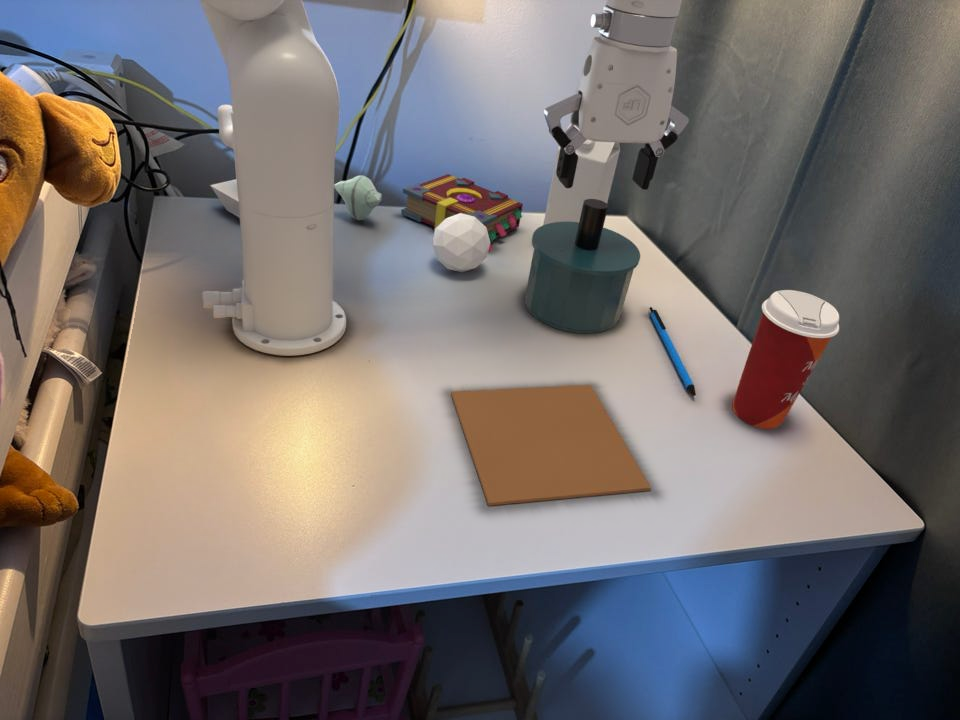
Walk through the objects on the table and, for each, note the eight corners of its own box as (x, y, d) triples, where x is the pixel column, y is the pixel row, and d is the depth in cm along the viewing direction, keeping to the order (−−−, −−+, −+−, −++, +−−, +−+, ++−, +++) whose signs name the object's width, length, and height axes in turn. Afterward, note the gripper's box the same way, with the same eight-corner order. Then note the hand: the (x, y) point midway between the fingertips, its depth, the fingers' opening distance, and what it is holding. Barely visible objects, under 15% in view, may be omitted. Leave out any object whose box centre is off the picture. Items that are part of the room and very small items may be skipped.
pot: (541, 334, 88) (554, 273, 83) (513, 283, 98) (523, 226, 93) (634, 332, 91) (651, 273, 87) (598, 283, 101) (612, 227, 96)
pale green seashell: (329, 216, 108) (329, 173, 104) (345, 208, 111) (345, 165, 107) (374, 231, 105) (376, 188, 102) (389, 222, 109) (392, 180, 105)
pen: (653, 311, 96) (655, 304, 96) (697, 400, 81) (701, 392, 80) (646, 310, 96) (648, 303, 95) (690, 399, 81) (693, 391, 80)
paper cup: (797, 442, 77) (852, 333, 69) (725, 426, 78) (771, 316, 70) (786, 399, 83) (835, 295, 75) (719, 385, 84) (761, 280, 76)
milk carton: (555, 230, 114) (580, 110, 103) (597, 244, 112) (627, 122, 101) (538, 246, 109) (563, 120, 98) (582, 260, 106) (612, 133, 96)
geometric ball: (467, 290, 100) (487, 266, 93) (416, 263, 99) (433, 237, 92) (486, 248, 103) (506, 222, 96) (437, 221, 102) (454, 192, 95)
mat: (488, 506, 64) (488, 502, 63) (450, 394, 76) (451, 391, 76) (650, 490, 68) (651, 487, 68) (589, 387, 80) (590, 384, 80)
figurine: (246, 229, 101) (239, 122, 92) (207, 206, 105) (197, 102, 97) (288, 217, 106) (286, 114, 97) (249, 195, 110) (244, 95, 102)
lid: (550, 280, 83) (561, 227, 79) (517, 229, 94) (526, 180, 90) (656, 279, 87) (671, 229, 83) (613, 230, 97) (625, 183, 93)
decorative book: (445, 198, 119) (448, 169, 116) (526, 231, 112) (531, 201, 109) (400, 216, 111) (402, 185, 108) (484, 253, 104) (489, 221, 101)
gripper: (572, 31, 70) (543, 196, 80) (727, 43, 75) (682, 198, 84) (548, 15, 76) (524, 171, 86) (693, 27, 80) (654, 174, 90)
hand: (602, 184), depth 85 cm, fingers open, 9 cm apart
